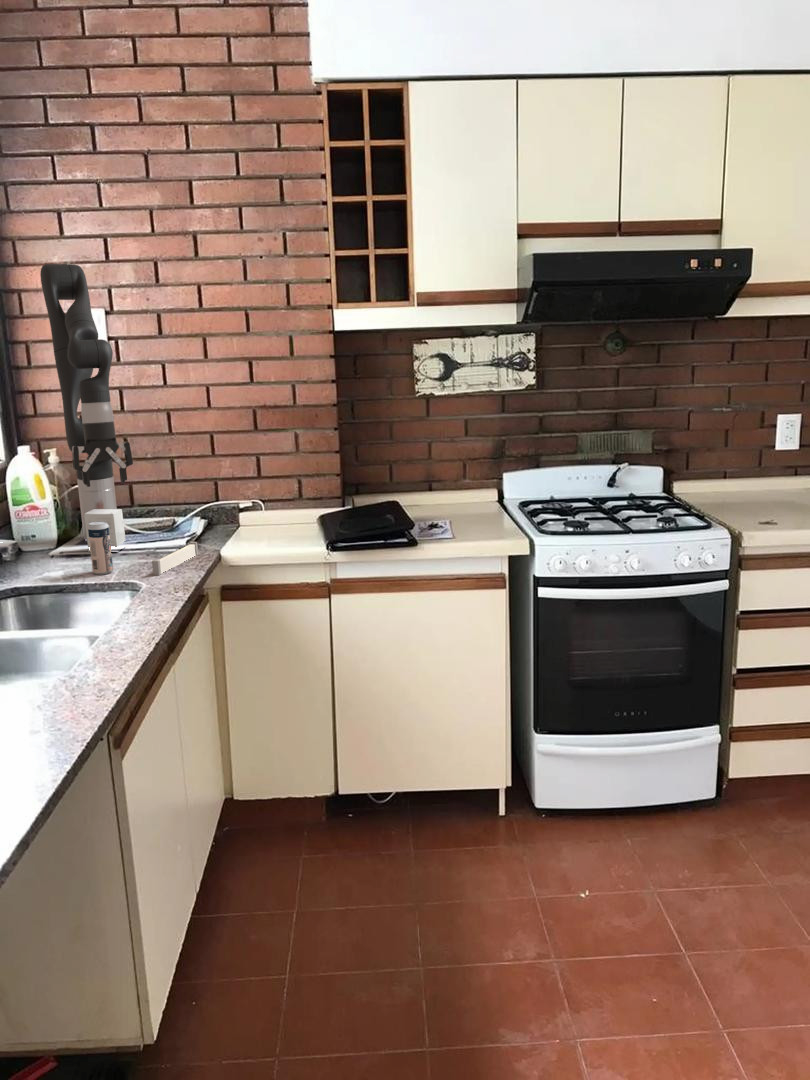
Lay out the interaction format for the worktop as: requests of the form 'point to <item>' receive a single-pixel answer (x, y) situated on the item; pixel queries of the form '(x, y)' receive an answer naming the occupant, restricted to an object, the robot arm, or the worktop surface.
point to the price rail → (174, 558)
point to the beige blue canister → (100, 547)
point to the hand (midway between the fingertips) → (105, 484)
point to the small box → (112, 519)
